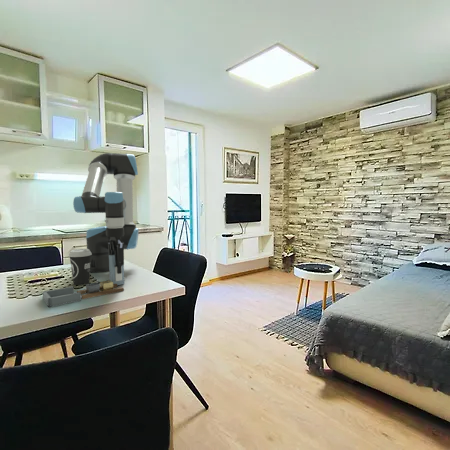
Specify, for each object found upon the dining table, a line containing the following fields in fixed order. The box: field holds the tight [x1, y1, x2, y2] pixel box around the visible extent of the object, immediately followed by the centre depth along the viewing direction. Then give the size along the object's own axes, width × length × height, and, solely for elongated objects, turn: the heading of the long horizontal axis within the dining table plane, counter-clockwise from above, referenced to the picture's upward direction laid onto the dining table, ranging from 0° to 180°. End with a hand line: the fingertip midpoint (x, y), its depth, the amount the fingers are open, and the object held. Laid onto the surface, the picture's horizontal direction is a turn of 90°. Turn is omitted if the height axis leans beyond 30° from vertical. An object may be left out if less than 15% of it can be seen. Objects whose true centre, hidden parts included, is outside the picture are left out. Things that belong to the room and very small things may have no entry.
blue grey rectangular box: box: [108, 255, 125, 286], centre depth 131 cm, size 4×5×13 cm
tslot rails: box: [76, 284, 125, 300], centre depth 120 cm, size 8×16×1 cm, turn 131°
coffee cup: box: [68, 248, 92, 286], centre depth 134 cm, size 10×10×15 cm
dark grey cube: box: [85, 282, 100, 294], centre depth 118 cm, size 4×4×4 cm
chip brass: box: [99, 279, 114, 291], centre depth 122 cm, size 4×4×4 cm
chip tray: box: [42, 286, 82, 308], centre depth 111 cm, size 11×10×3 cm
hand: (116, 279), depth 131 cm, fingers closed on blue grey rectangular box, 4 cm apart
